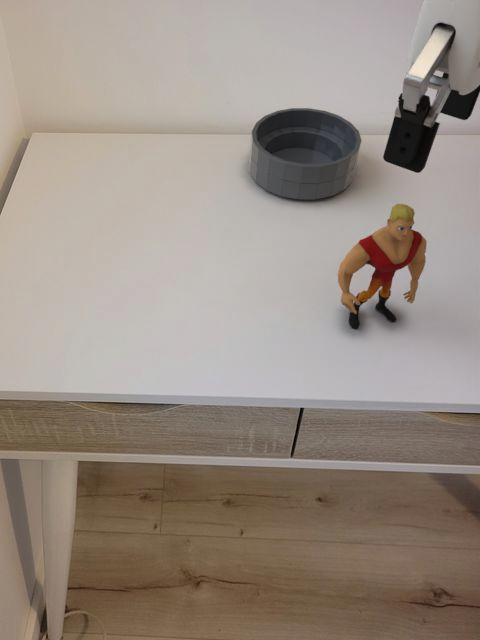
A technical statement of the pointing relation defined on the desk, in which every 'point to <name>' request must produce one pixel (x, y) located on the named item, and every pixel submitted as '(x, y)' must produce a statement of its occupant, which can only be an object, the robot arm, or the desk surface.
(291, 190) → the bowl
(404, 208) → the action figure
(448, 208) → the desk surface
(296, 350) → the desk surface
